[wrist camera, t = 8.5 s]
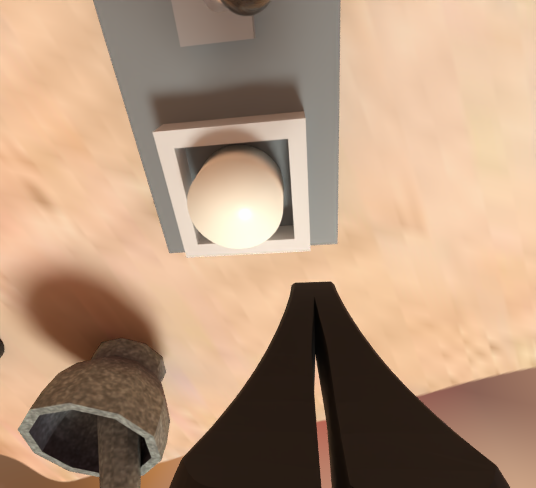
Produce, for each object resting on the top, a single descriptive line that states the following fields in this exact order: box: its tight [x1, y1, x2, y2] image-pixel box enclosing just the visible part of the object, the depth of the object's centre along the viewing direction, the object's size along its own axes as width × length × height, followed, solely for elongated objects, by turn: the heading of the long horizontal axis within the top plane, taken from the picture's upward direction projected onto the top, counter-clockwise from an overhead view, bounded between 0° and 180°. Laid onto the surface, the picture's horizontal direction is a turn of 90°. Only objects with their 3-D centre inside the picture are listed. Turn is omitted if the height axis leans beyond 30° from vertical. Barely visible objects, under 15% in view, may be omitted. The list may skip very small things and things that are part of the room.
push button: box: [187, 145, 284, 249], centre depth 17 cm, size 4×4×2 cm
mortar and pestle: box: [18, 338, 170, 488], centre depth 25 cm, size 11×9×12 cm
